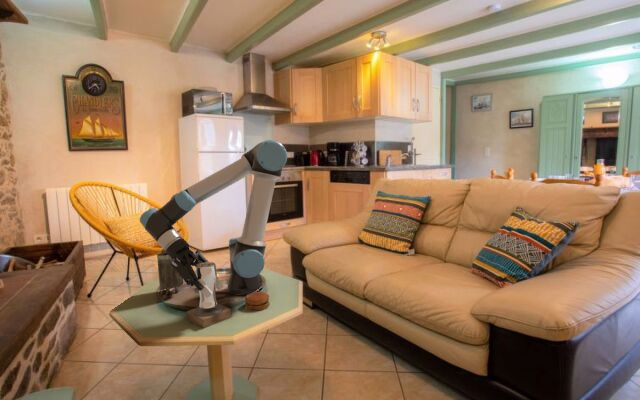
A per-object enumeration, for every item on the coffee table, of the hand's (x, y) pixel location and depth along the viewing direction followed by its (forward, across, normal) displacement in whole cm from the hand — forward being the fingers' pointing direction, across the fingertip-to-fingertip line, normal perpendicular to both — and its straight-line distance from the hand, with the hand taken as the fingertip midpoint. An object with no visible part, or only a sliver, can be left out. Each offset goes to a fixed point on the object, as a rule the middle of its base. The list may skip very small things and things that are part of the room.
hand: (216, 291), depth 127 cm
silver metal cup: (+1, 0, -6) cm, 7 cm away
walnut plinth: (+5, 0, -10) cm, 11 cm away
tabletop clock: (-17, -18, -31) cm, 40 cm away
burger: (+13, -14, -2) cm, 20 cm away
